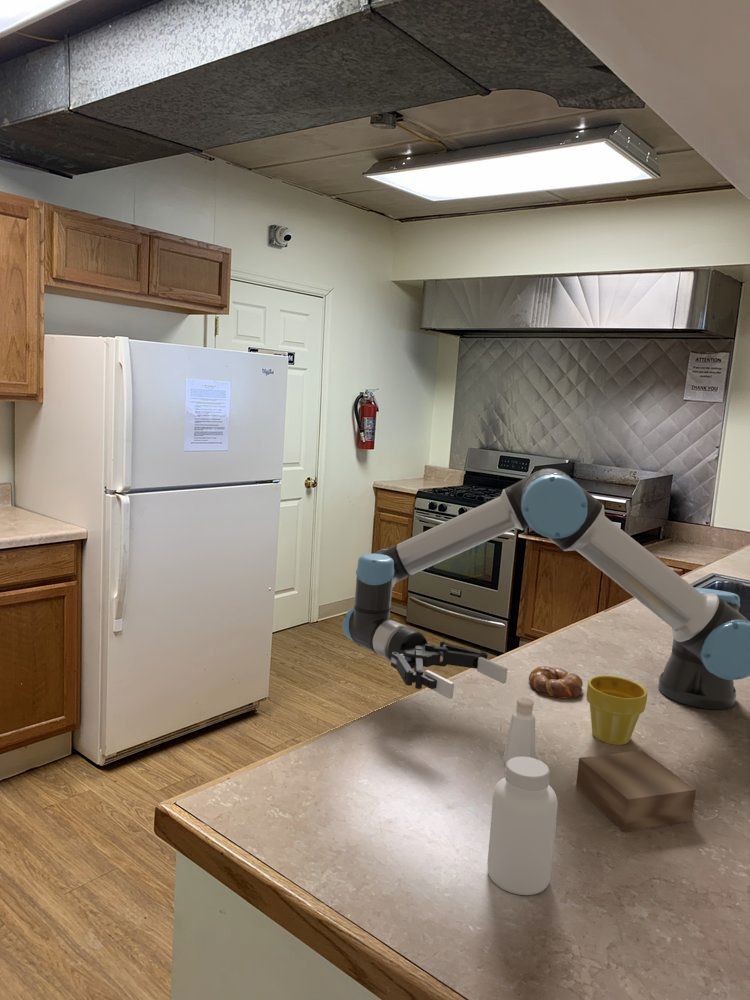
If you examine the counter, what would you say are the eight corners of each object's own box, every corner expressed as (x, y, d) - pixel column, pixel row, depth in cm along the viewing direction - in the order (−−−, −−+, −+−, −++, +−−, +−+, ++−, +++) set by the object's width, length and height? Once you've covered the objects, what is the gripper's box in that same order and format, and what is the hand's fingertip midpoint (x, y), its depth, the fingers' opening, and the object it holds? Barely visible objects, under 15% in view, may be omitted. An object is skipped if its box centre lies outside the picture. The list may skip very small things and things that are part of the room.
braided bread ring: (515, 684, 157) (516, 667, 156) (548, 674, 163) (550, 658, 163) (560, 705, 147) (562, 687, 147) (593, 694, 154) (595, 677, 153)
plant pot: (645, 754, 128) (652, 701, 127) (584, 745, 130) (590, 693, 129) (636, 728, 138) (642, 679, 137) (580, 720, 140) (585, 671, 139)
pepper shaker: (537, 758, 124) (543, 697, 122) (533, 773, 119) (540, 709, 117) (505, 751, 126) (511, 691, 124) (500, 766, 121) (506, 703, 119)
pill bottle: (479, 856, 97) (489, 750, 95) (538, 856, 98) (550, 751, 95) (494, 897, 89) (505, 782, 87) (558, 897, 90) (571, 783, 88)
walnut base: (638, 779, 120) (642, 750, 119) (691, 820, 108) (696, 789, 108) (575, 787, 116) (579, 757, 115) (624, 831, 104) (628, 799, 104)
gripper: (444, 652, 153) (523, 689, 137) (348, 674, 137) (425, 719, 121) (447, 618, 152) (528, 651, 136) (351, 636, 136) (429, 676, 120)
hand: (479, 683), depth 128 cm, fingers open, 13 cm apart
